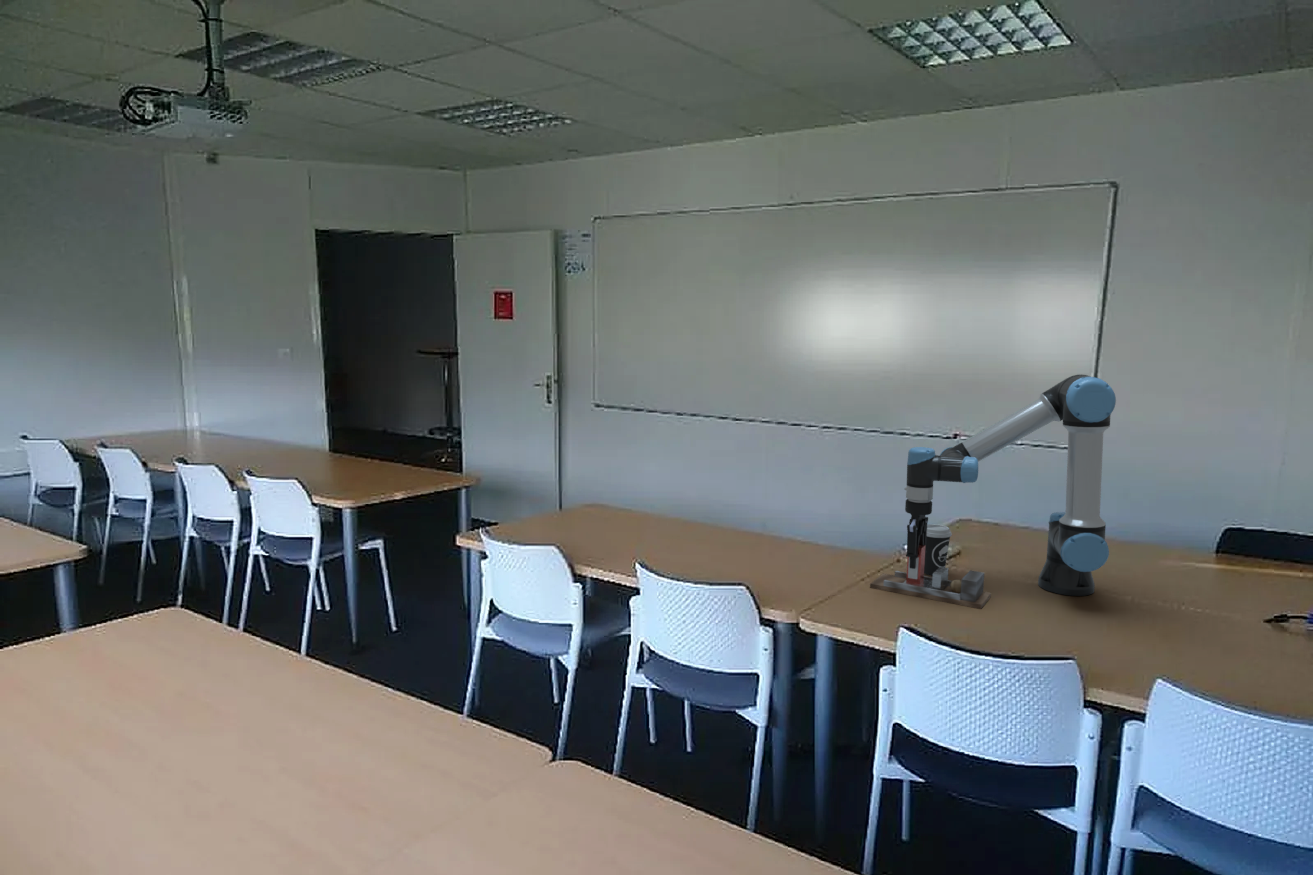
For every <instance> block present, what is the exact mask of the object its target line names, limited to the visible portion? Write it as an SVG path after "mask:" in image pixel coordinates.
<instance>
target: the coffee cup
mask: <svg viewBox="0 0 1313 875" xmlns="http://www.w3.org/2000/svg"><path fill="white" fill-rule="evenodd" d="M952 536H953V533H952V531H951V529H950V528H949V526H947V525H943V524H938V523H937V524H934V523H927V537H926V549H925V550H927V552H926V553H925V564H924V575H925V576H929V577H933V573H934V572H935V571H936V570H937V569H938V568H939V567H946V568H947V561H948V559H947V558H948V553H949V547H950V546H949V545H950V539H951V537H952Z"/></svg>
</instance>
